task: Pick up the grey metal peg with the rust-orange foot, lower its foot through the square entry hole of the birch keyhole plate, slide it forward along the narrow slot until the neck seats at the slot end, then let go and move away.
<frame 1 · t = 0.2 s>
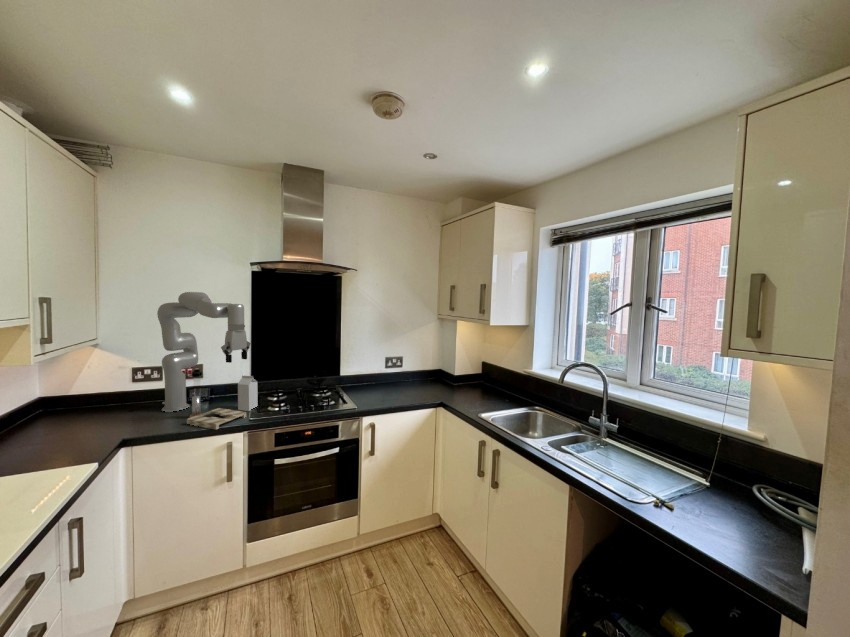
hand: (236, 360, 175), 31 cm above the worktop, tool pointing down, fingers open, 9 cm apart
keyhole plate: (217, 420, 173), on the worktop
peg: (196, 417, 178), on the worktop
milk carton: (248, 409, 193), on the worktop
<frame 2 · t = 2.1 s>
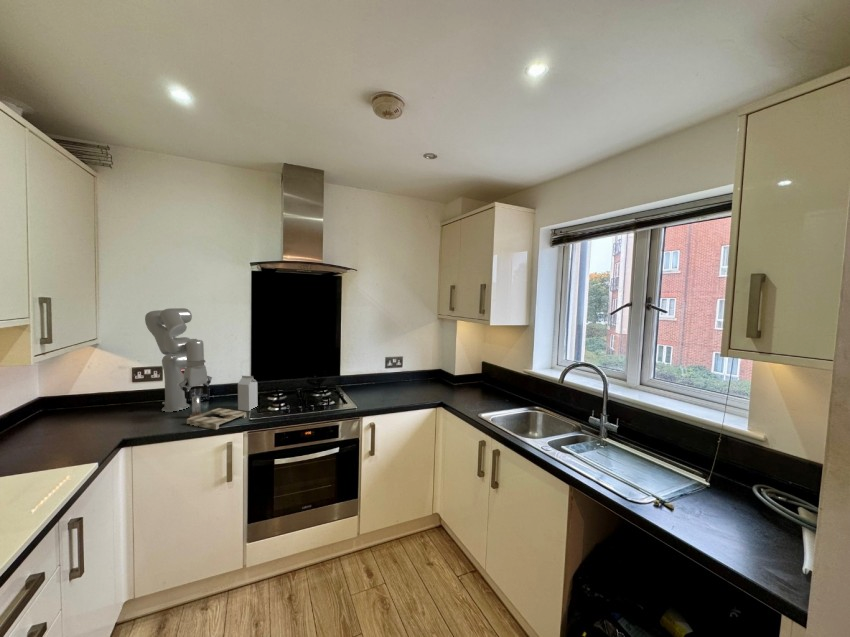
hand: (196, 396, 177), 11 cm above the worktop, tool pointing down, fingers open, 9 cm apart
nothing on the worktop moved.
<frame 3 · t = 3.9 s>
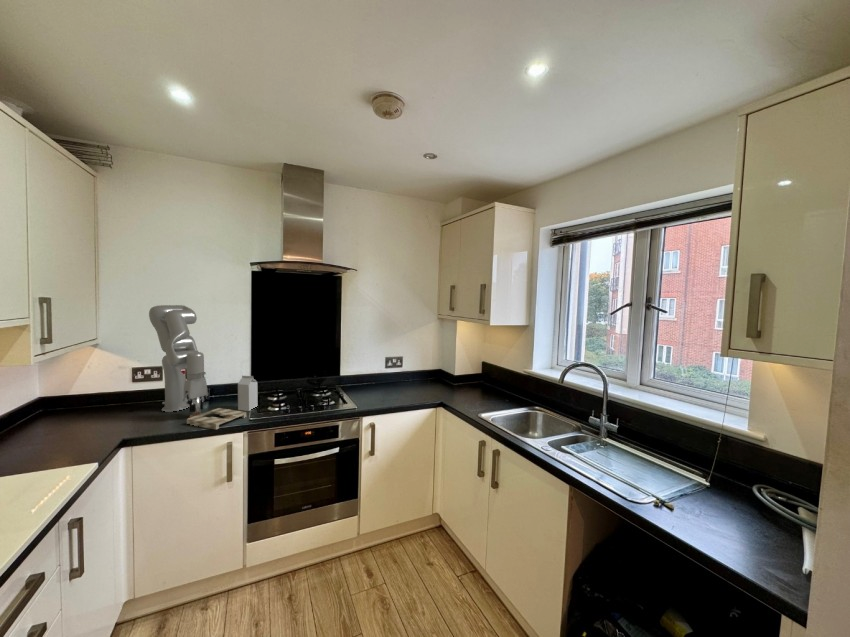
hand: (196, 410, 178), 4 cm above the worktop, tool pointing down, fingers closed on peg, 3 cm apart
peg: (196, 417, 178), on the worktop, touching gripper
everything else where it was.
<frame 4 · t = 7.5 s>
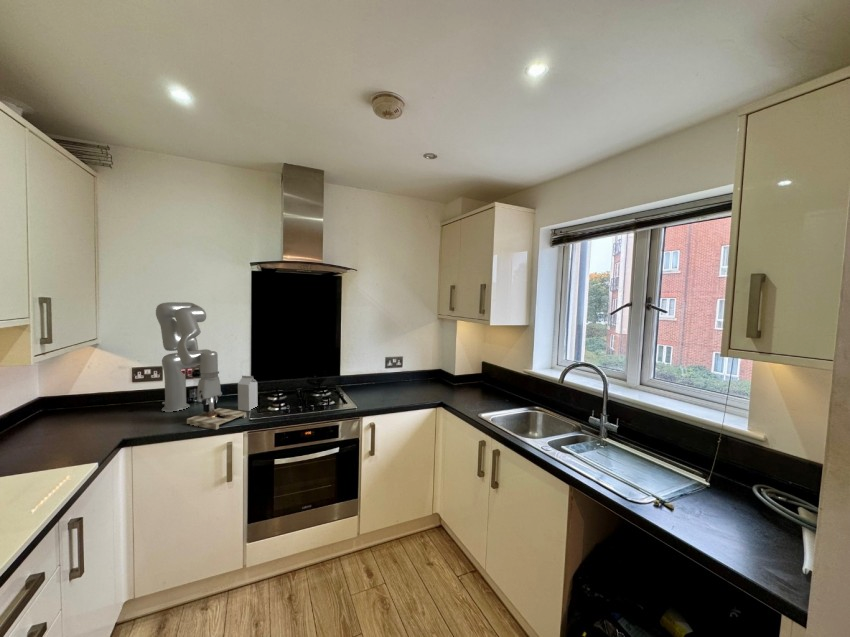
hand: (210, 410, 175), 5 cm above the worktop, tool pointing down, fingers closed on peg, 3 cm apart
peg: (210, 417, 175), point 1 cm above the worktop, touching gripper
everything else where it was.
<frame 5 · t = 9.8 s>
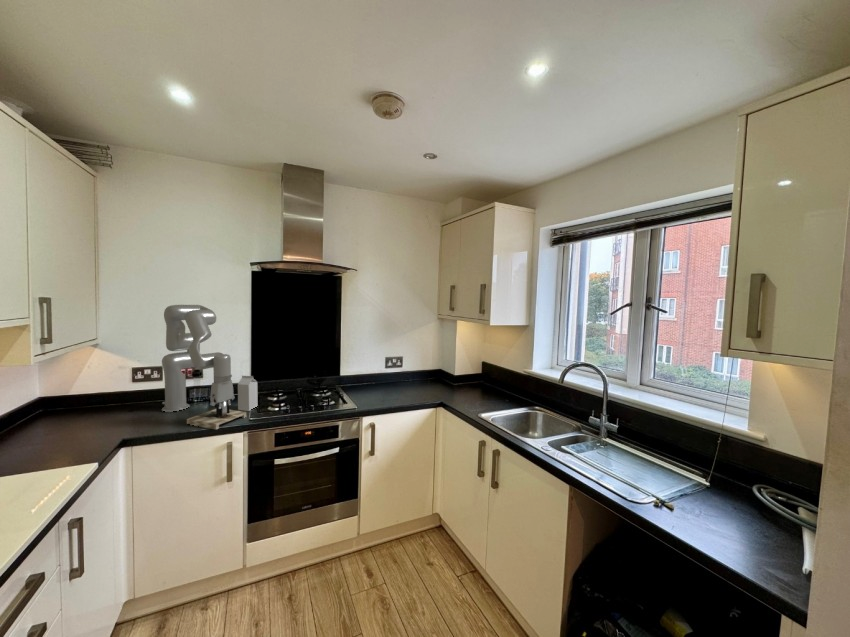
hand: (222, 414, 172), 4 cm above the worktop, tool pointing down, fingers closed on peg, 3 cm apart
peg: (223, 421, 172), on the worktop, touching gripper
everything else where it was.
when the fingers open (4 cm above the worktop, at t = 11.1 s): peg stays where it is, on the worktop.
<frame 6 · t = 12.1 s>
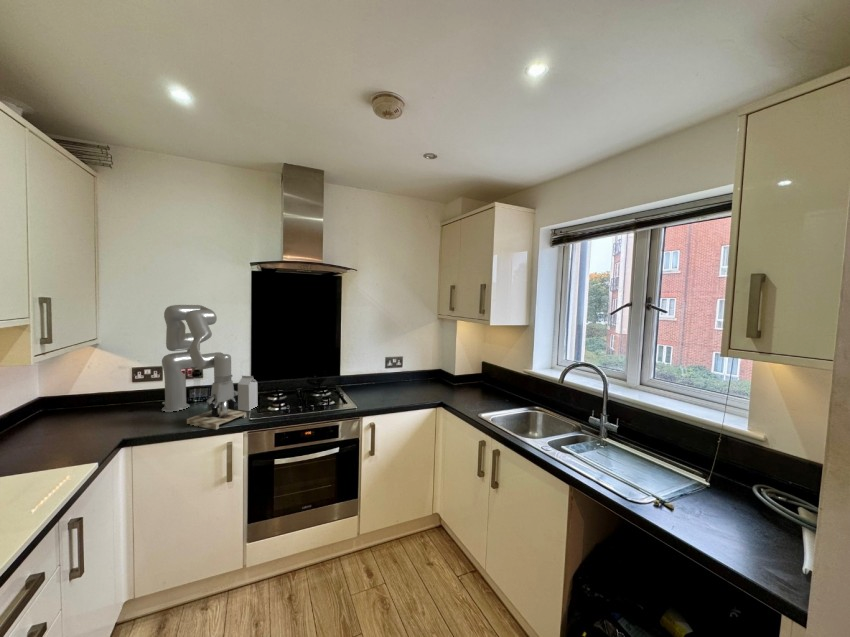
hand: (223, 412, 172), 5 cm above the worktop, tool pointing down, fingers open, 9 cm apart
peg: (223, 421, 172), on the worktop
everything else where it was.
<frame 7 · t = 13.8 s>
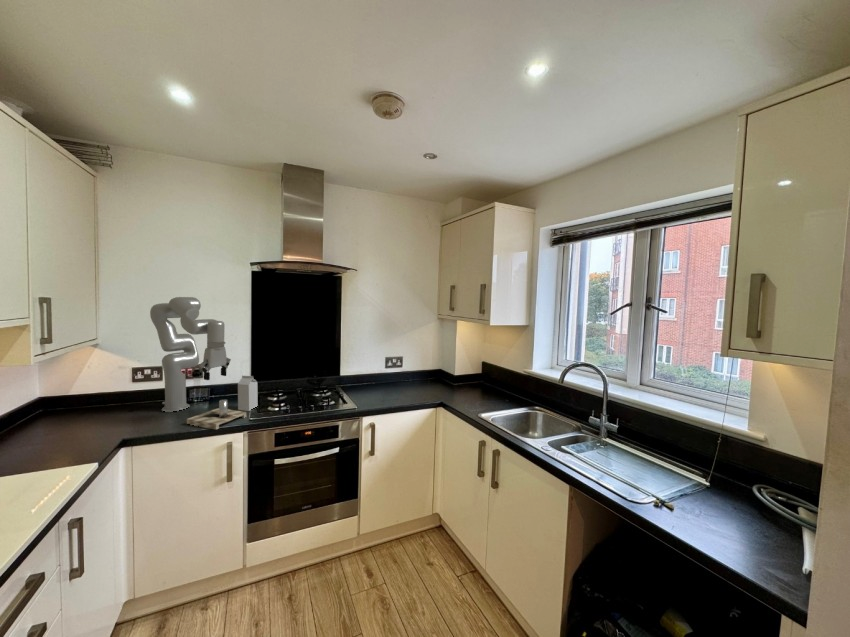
hand: (215, 377, 174), 22 cm above the worktop, tool pointing down, fingers open, 9 cm apart
nothing on the worktop moved.
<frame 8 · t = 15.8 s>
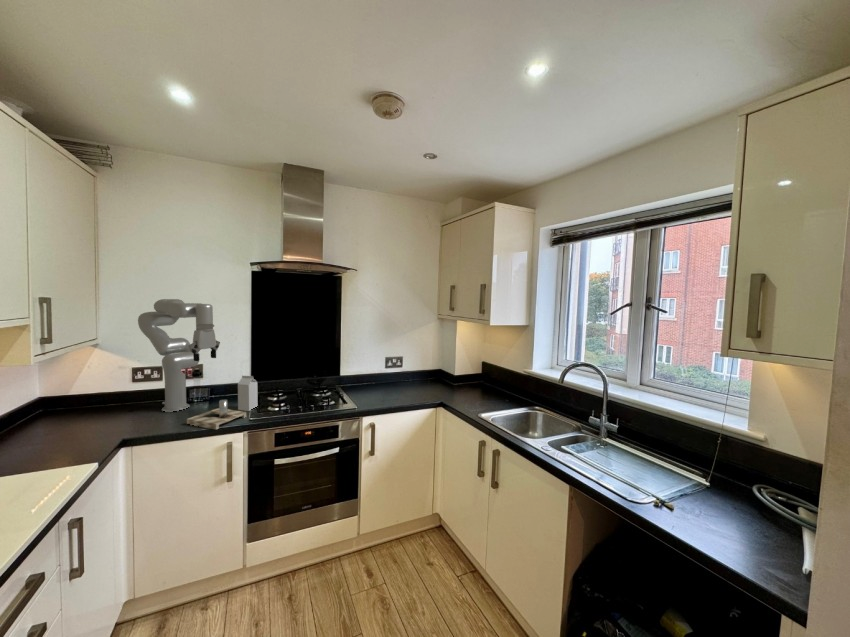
hand: (205, 359, 179), 30 cm above the worktop, tool pointing down, fingers open, 9 cm apart
nothing on the worktop moved.
at the end: peg 0.0 cm from the target spot on the keyhole plate, point 0.0 cm above the keyhole plate's base; peg tilted 0°; the gripper is holding nothing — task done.
